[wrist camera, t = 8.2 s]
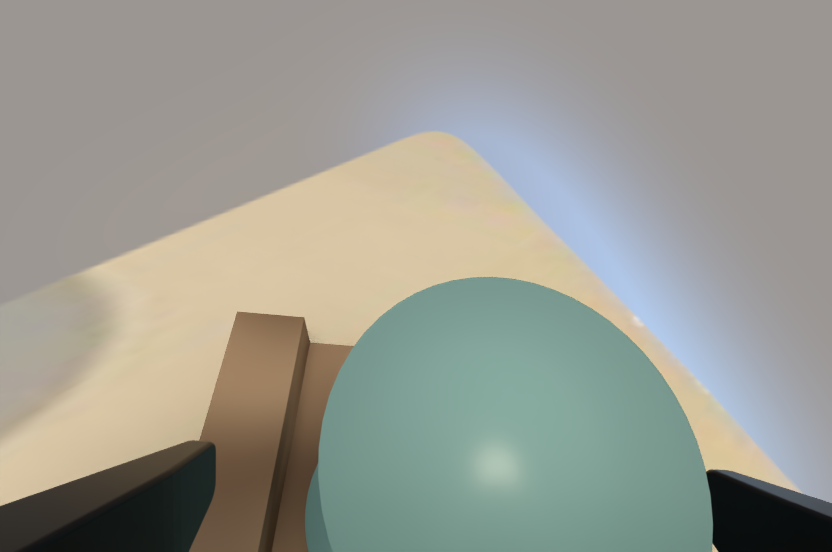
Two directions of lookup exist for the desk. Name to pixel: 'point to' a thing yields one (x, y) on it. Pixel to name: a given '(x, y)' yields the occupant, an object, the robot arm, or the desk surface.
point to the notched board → (266, 434)
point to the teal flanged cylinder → (504, 434)
